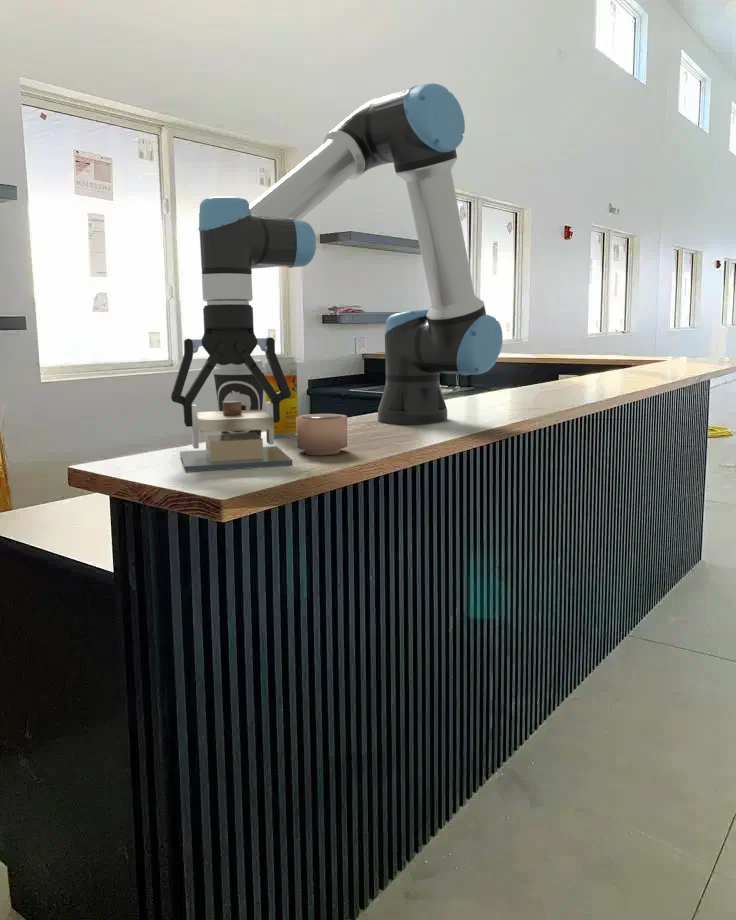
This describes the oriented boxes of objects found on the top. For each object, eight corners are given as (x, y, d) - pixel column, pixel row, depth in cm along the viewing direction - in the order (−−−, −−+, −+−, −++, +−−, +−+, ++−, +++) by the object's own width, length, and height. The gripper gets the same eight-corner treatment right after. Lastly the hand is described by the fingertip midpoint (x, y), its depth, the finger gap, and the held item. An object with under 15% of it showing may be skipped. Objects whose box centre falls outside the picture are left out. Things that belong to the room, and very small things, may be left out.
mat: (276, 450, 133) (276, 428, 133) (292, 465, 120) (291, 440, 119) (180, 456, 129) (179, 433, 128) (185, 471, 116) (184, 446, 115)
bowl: (340, 446, 137) (339, 412, 135) (353, 454, 129) (352, 418, 128) (292, 449, 134) (291, 414, 133) (302, 457, 126) (301, 420, 125)
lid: (262, 420, 130) (261, 397, 129) (273, 429, 120) (272, 404, 119) (194, 423, 127) (193, 399, 126) (199, 432, 117) (198, 406, 116)
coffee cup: (280, 445, 139) (277, 360, 136) (235, 452, 132) (232, 362, 129) (247, 440, 145) (244, 358, 142) (203, 446, 138) (199, 361, 136)
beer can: (293, 438, 147) (290, 357, 144) (262, 437, 148) (259, 357, 145) (302, 433, 153) (300, 356, 150) (272, 433, 154) (269, 356, 151)
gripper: (298, 303, 127) (301, 438, 131) (148, 304, 120) (156, 445, 124) (308, 302, 120) (311, 444, 124) (149, 303, 113) (157, 453, 117)
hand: (233, 445), depth 124 cm, fingers closed on lid, 11 cm apart
